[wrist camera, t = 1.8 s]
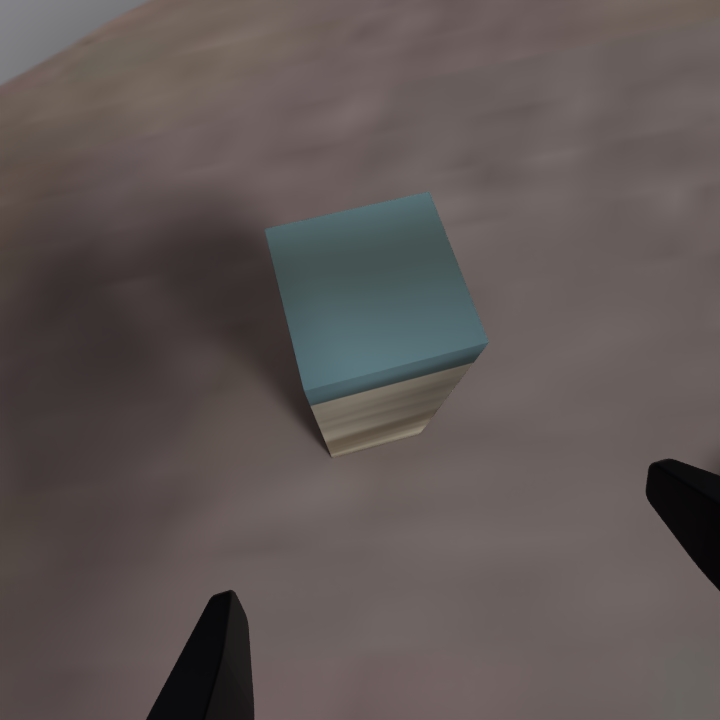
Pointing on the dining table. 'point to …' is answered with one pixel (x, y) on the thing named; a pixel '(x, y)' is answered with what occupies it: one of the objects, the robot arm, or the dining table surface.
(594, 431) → the dining table surface
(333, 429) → the birch block
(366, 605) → the dining table surface
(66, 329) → the dining table surface
